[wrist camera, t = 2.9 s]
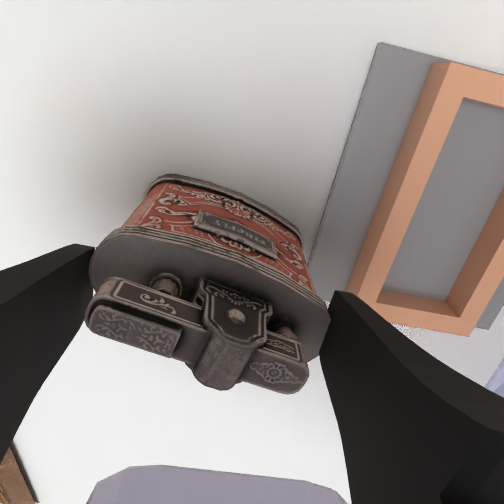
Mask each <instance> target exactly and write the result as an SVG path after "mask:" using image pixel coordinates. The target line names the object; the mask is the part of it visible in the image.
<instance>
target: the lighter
mask: <svg viewBox="0 0 504 504" xmlns="http://www.w3.org/2000/svg"><path fill="white" fill-rule="evenodd" d="M89 277H90V281H91V284H92V287H93V288H94V290H95V291H96V294H95V295H94V297H93V298H92V299H91V301H90V303H89V305H88V307H87V309H86V313H85V320H84V321H85V323H86V326H87V327H88V328H89V329H90V330H91V331H92V332H93V333H95V334H97V335H100V336H103V337H106V338H109V339H112V340H115V341H118V342H121V343H124V344H128V345H131V346H134V347H137V348H140V349H143V350H146V351H149V352H152V353H155V354H158V355H161V356H165V357H168V358H170V357H171V358H174V359H177V360H180V361H183V362H185V364H186V365H187V366H188V367H189V368H190V369H191V370H192V372H193V375H194V377H195V378H196V379H197V380H198V381H199V382H200V383H202V384H203V385H204V386H207V387H210V388H214V389H217V390H220V391H221V390H229V389H231V388H232V387H233V386H234V385H235V384H237V383H241V382H242V381H244V382H247V383H251V384H254V385H257V386H260V387H263V388H266V389H269V390H272V391H275V392H278V393H282V394H294V393H296V392H298V391H299V390H300V389H301V388H302V387H303V386H304V384H305V383H306V381H307V379H308V377H309V369H308V364H307V362H309V361H311V360H312V359H314V358H316V357H317V356H319V350H320V348H321V345H322V342H323V340H324V337H325V334H326V332H327V329H328V326H329V324H330V321H331V318H330V315H329V312H328V309H327V307H326V304H325V302H324V301H323V300H322V299H321V298H320V297H319V296H318V295H317V294H316V291H315V288H314V285H313V282H312V279H311V276H310V273H309V270H308V267H307V264H306V261H305V258H304V255H303V240H302V238H301V235H300V232H299V230H298V229H297V228H296V227H295V226H294V225H293V224H292V223H290V222H289V221H287V220H286V219H285V218H283V217H282V216H280V215H279V214H277V213H276V212H274V211H273V210H271V209H270V208H268V207H266V206H264V205H262V204H260V203H259V202H257V201H255V200H253V199H251V198H249V197H247V196H245V195H243V194H241V193H239V192H236V191H233V190H230V189H228V188H225V187H222V186H219V185H216V184H213V183H211V182H208V181H203V180H199V179H195V178H190V177H186V176H182V175H177V174H166V175H163V176H160V177H158V178H157V179H156V180H155V181H154V182H153V183H152V184H151V185H150V186H149V187H148V189H147V191H146V193H145V195H144V200H143V201H142V202H141V204H140V205H139V206H138V207H137V209H136V210H135V211H134V212H133V214H132V215H131V216H130V217H129V218H128V220H127V221H126V222H125V223H124V225H123V226H122V227H121V228H118V229H115V230H114V231H113V232H111V233H110V234H109V235H108V236H107V237H106V238H105V239H104V240H103V241H102V242H101V243H100V244H99V246H98V247H97V248H96V250H95V251H94V253H93V255H92V257H91V259H90V265H89Z"/></svg>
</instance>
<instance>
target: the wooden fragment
mask: <svg viewBox="0 0 504 504" xmlns="http://www.w3.org/2000/svg"><path fill="white" fill-rule="evenodd" d="M0 503H2V504H35V503H34V500H33V497H32V495H31V493H30V491H29V489H28V487H27V485H26V483H25V481H24V478H23V476H22V474H21V472H20V470H19V467H18V465H17V463H16V460H15V457H14V455H13V452H12V451H11V449H10V447H9V448H8V450H7V452H6V454H5V456H4V458H3V460H2V462H1V464H0Z"/></svg>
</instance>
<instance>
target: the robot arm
mask: <svg viewBox="0 0 504 504" xmlns="http://www.w3.org/2000/svg"><path fill="white" fill-rule="evenodd" d="M94 251H95V247H91V246H85V245H80V244H72V245H68V246H65V247H63V248H60V249H57V250H55V251H52V252H50V253H47V254H45V255H42V256H39V257H37V258H34V259H32V260H29V261H27V262H24V263H21V264H19V265H16V266H13V267H10V268H7V269H4V270H1V271H0V464H1V462H2V460H3V458H4V456H5V454H6V452H7V450H8V448H9V446H10V444H11V442H12V440H13V438H14V436H15V434H16V432H17V430H18V428H19V426H20V424H21V422H22V420H23V418H24V416H25V415H26V413H27V411H28V409H29V407H30V405H31V403H32V401H33V399H34V398H35V396H36V394H37V393H38V391H39V389H40V388H41V386H42V384H43V383H44V381H45V380H46V378H47V377H48V375H49V374H50V372H51V371H52V369H53V368H54V366H55V365H56V363H57V362H58V360H59V359H60V358H61V356H62V355H63V353H64V352H65V350H66V349H67V347H68V346H69V344H70V343H71V341H72V340H73V338H74V336H75V335H76V333H77V332H78V330H79V329H80V327H81V325H82V323H83V321H84V319H85V313H86V309H87V307H88V305H89V303H90V301H91V299H92V298H93V287H92V284H91V281H90V277H89V265H90V259H91V257H92V255H93V253H94ZM328 312H329V315H330V318H331V321H330V324H329V326H328V329H327V332H326V334H325V337H324V340H323V342H322V345H321V348H320V350H319V355H320V362H321V366H322V370H323V374H324V377H325V381H326V385H327V388H328V391H329V395H330V398H331V402H332V405H333V409H334V412H335V416H336V419H337V422H338V426H339V431H340V435H341V439H342V445H343V451H344V456H345V462H346V468H347V474H348V481H349V488H350V495H351V501H352V504H504V359H503V360H502V362H501V363H500V365H499V366H498V368H497V369H496V371H495V372H494V374H493V376H492V377H491V379H490V380H489V382H488V383H487V385H486V386H485V388H484V387H483V386H481V385H479V384H477V383H476V382H474V381H472V380H470V379H468V378H467V377H465V376H463V375H461V374H460V373H458V372H456V371H455V370H453V369H452V368H450V367H448V366H447V365H445V364H444V363H442V362H441V361H439V360H438V359H436V358H435V357H433V356H432V355H430V354H429V353H427V352H426V351H425V350H423V349H422V348H420V347H419V346H418V345H417V344H415V343H414V342H413V341H411V340H410V339H409V338H407V337H406V336H405V335H404V334H402V333H401V332H400V331H399V330H397V329H396V328H395V327H394V326H392V325H391V324H390V323H389V322H388V321H386V320H385V319H384V318H383V317H382V316H381V315H379V314H378V313H377V312H376V311H375V310H373V309H372V308H371V307H370V306H369V305H368V304H366V303H365V302H364V301H363V300H361V299H360V298H359V297H357V296H356V295H354V294H353V293H350V292H344V291H338V290H335V291H334V294H333V297H332V299H331V302H330V305H329V307H328ZM86 504H347V503H346V501H345V500H344V499H343V498H342V497H341V496H340V495H339V494H338V493H337V492H336V491H334V490H332V489H330V488H327V487H324V486H321V485H318V484H314V483H311V482H308V481H303V480H294V479H285V478H276V477H267V476H258V475H249V474H240V473H231V472H222V471H213V470H204V469H195V468H186V467H177V466H168V465H150V466H133V467H128V468H126V469H124V470H122V471H120V472H118V473H116V474H114V475H112V476H109V477H107V478H105V479H103V480H101V481H99V482H97V484H96V486H95V488H94V490H93V492H92V494H91V495H90V497H89V499H88V501H87V503H86Z"/></svg>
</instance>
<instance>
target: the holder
mask: <svg viewBox="0 0 504 504" xmlns="http://www.w3.org/2000/svg"><path fill="white" fill-rule="evenodd" d="M307 267H308V270H309V273H310V276H311V279H312V282H313V285H314V288H315V291H316V294H317V295H318V296H319V297H320V298H321V299H322V300H326V301H331V299H332V297H333V294H334V291H335V290H338V291H344V292H350V293H353V294H354V295H356V296H357V297H359V298H360V299H361V300H363V301H364V302H365V303H366V304H368V305H369V306H370V307H371V308H372V309H373V310H375V311H376V312H377V313H378V314H379V315H381V316H382V317H383V318H384V319H385V320H386V321H388V322H389V323H394V324H399V325H405V326H411V327H416V328H422V329H428V330H433V331H439V332H445V333H450V334H456V335H462V336H467V337H469V335H470V334H471V332H472V330H473V328H474V327H476V328H482V329H487V330H489V328H490V326H491V325H492V323H493V321H494V320H495V318H496V316H497V315H498V313H499V311H500V310H501V308H502V306H503V305H504V75H503V74H499V73H496V72H492V71H488V70H484V69H481V68H477V67H473V66H469V65H465V64H462V63H458V62H454V61H450V60H447V59H443V58H439V57H435V56H431V55H428V54H424V53H420V52H416V51H413V50H409V49H405V48H401V47H398V46H394V45H390V44H386V43H378V46H377V49H376V52H375V55H374V58H373V61H372V64H371V68H370V71H369V74H368V77H367V80H366V83H365V86H364V89H363V93H362V96H361V99H360V102H359V105H358V108H357V111H356V115H355V118H354V121H353V124H352V127H351V130H350V133H349V136H348V140H347V143H346V146H345V149H344V152H343V155H342V158H341V162H340V165H339V168H338V171H337V174H336V177H335V180H334V183H333V187H332V190H331V193H330V196H329V199H328V202H327V205H326V209H325V212H324V215H323V218H322V221H321V224H320V227H319V230H318V234H317V237H316V240H315V243H314V246H313V249H312V252H311V255H310V259H309V262H308V265H307Z"/></svg>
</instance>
